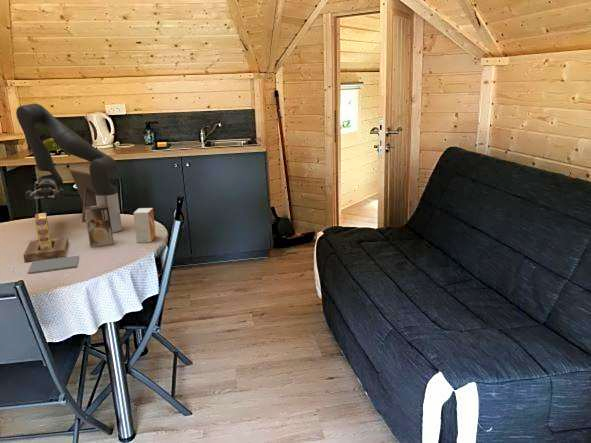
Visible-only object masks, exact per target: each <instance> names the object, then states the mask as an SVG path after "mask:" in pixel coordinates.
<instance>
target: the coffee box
mask: <svg viewBox="0 0 591 443" xmlns="http://www.w3.org/2000/svg"><path fill="white" fill-rule="evenodd" d="M84 211H85V222H86V228H87V229H86V230H87V236H88V242H89V246H90V247H91V248H96V247H103V246H107V245H108V246H109V245H114V244H115V243H114V236H113V233H112V228H111V221H110V214H109V208H108V206H107V205H106V204H104V205H96V206H88V207H84Z"/></svg>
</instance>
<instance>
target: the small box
mask: <svg viewBox="0 0 591 443" xmlns="http://www.w3.org/2000/svg"><path fill="white" fill-rule="evenodd" d="M132 215H133V223H134V231H135V240H136V243H137V242H139V243H152V241H153V240H154V239H155V238H156V236H157V234H156V226H155V224H156V223H155V216H154V215H155V214H154V208H153V207H139V208H137V209H136V210H135V211H134V212H133V214H132Z"/></svg>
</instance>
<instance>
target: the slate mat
mask: <svg viewBox="0 0 591 443" xmlns="http://www.w3.org/2000/svg"><path fill="white" fill-rule="evenodd" d="M79 259H80V256H79V255H71V256H65V257H63V258H55V259H47V260H39V261H32V262H31V264H30V266H29V268H28V271H27V275H32V274H39V273H46V272H52V271H53V272H54V271H61V270H68V269H77V268H78V264H79Z"/></svg>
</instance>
